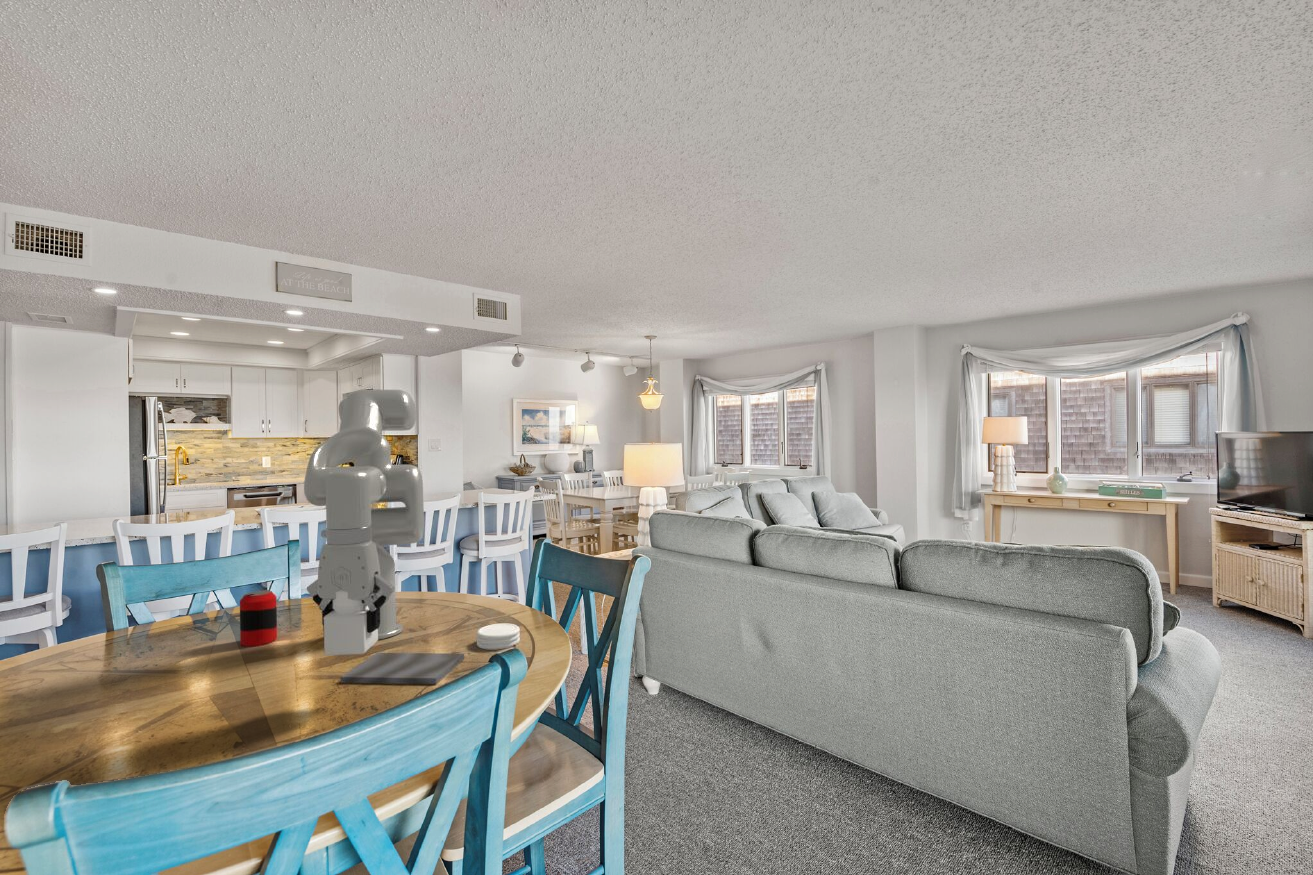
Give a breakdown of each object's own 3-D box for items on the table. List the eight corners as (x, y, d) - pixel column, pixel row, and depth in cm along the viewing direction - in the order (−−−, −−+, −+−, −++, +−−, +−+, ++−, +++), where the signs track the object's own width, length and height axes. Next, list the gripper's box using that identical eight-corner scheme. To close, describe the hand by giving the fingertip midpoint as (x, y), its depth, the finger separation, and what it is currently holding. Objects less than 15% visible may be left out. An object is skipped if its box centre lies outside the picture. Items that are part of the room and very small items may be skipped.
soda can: (233, 645, 149) (232, 595, 149) (263, 635, 156) (262, 588, 156) (254, 648, 146) (253, 598, 146) (284, 638, 153) (283, 590, 153)
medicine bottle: (340, 642, 119) (338, 580, 118) (378, 640, 119) (377, 578, 119) (323, 656, 111) (321, 590, 111) (364, 654, 112) (362, 588, 112)
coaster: (508, 652, 141) (508, 636, 141) (468, 649, 143) (468, 634, 143) (526, 637, 151) (526, 623, 151) (489, 635, 153) (489, 621, 153)
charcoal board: (340, 682, 124) (340, 676, 124) (377, 657, 138) (377, 652, 138) (436, 684, 123) (436, 678, 123) (464, 658, 137) (464, 653, 137)
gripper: (291, 539, 112) (294, 636, 112) (383, 540, 110) (385, 637, 111) (317, 532, 119) (320, 622, 120) (404, 532, 118) (406, 624, 118)
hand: (351, 629), depth 115 cm, fingers closed on medicine bottle, 7 cm apart
